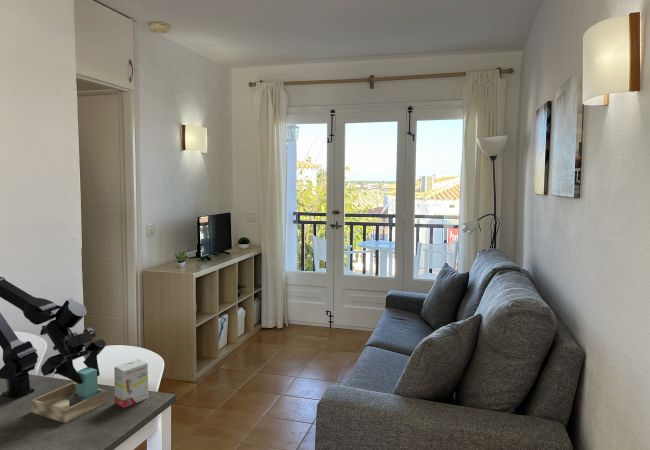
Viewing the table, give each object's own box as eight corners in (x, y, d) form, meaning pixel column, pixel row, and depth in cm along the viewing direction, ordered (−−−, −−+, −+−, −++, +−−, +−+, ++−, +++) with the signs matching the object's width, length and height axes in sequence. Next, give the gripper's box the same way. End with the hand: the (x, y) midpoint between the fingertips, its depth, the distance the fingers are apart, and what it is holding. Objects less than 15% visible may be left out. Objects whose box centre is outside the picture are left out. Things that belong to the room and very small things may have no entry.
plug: (77, 406, 145) (75, 371, 144) (88, 400, 149) (87, 367, 148) (86, 409, 144) (85, 374, 143) (98, 403, 147) (97, 369, 146)
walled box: (31, 413, 142) (30, 400, 141) (74, 394, 154) (73, 381, 154) (65, 424, 136) (64, 410, 135) (106, 403, 149) (106, 390, 148)
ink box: (123, 409, 145) (122, 371, 144) (114, 405, 148) (113, 366, 147) (149, 399, 152) (148, 362, 150) (140, 395, 155) (139, 358, 153)
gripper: (46, 330, 137) (75, 376, 134) (101, 313, 154) (128, 353, 151) (28, 353, 141) (56, 398, 138) (84, 334, 158) (110, 373, 155)
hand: (90, 379), depth 145 cm, fingers open, 6 cm apart
